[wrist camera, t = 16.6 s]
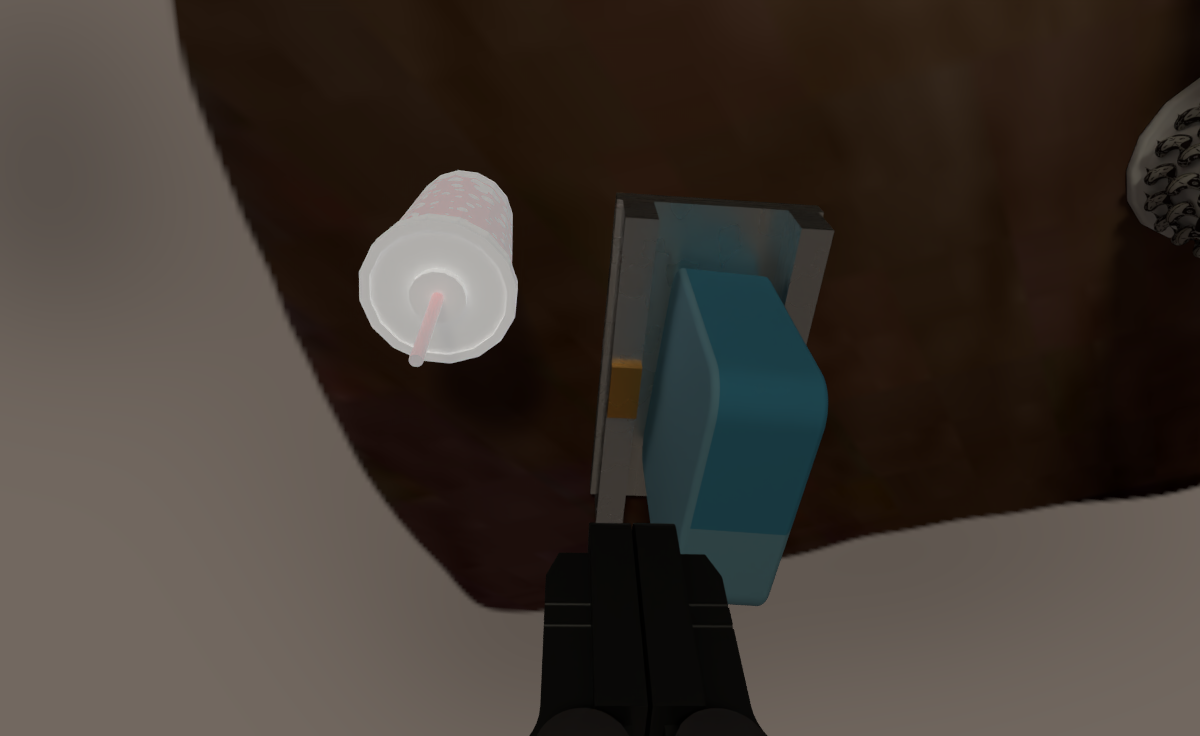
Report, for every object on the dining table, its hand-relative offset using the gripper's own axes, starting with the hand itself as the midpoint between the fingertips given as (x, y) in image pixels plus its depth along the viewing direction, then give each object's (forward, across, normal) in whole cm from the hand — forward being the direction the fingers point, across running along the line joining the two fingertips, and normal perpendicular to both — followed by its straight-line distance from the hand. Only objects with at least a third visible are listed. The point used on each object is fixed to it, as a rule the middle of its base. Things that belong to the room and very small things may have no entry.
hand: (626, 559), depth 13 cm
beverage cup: (+26, +6, +3) cm, 27 cm away
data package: (+25, -6, +11) cm, 28 cm away
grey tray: (+26, -6, +11) cm, 29 cm away
